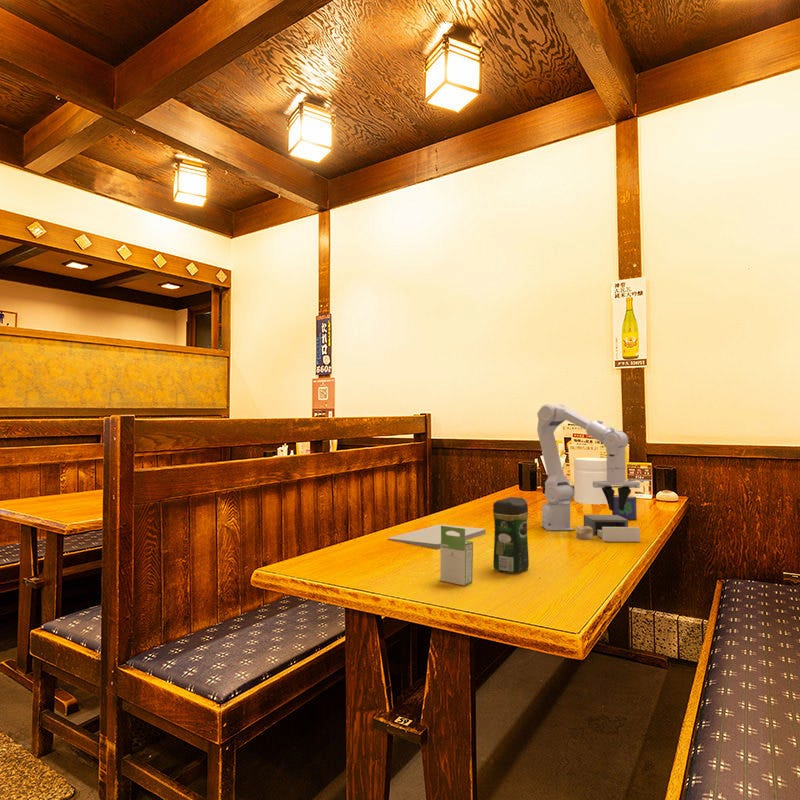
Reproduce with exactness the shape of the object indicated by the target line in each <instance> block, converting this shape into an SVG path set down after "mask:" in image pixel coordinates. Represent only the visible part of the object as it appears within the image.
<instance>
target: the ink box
mask: <svg viewBox="0 0 800 800" xmlns="http://www.w3.org/2000/svg"><path fill="white" fill-rule="evenodd" d="M448 526H449V525H448ZM448 526H441V549H440V569H439V570H440V575H439V576H440V579H439V580H440V581H442V582H446V583H451V584H455V585H459V586H464V587H465V586H468V585H470V584H472V583H473V577H474V576H473V574H474V573H473V571H474V570H473V569H474V567H473V565H474V564H473V562H474V558H473V557H474V555H473V554H474V542H473V541H470V540H465V529H463V528H455V527H448ZM448 531H455V532H457V533H459V534H460V536H453V535H447V534H446V532H448Z"/></svg>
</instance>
